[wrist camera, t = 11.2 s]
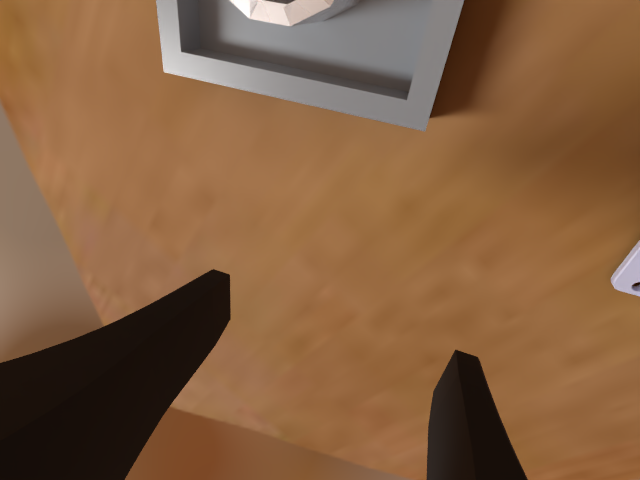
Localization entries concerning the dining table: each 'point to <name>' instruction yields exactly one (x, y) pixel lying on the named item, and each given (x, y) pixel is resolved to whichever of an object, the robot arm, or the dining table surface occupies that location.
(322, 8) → the ring
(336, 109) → the tray
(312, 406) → the dining table surface
